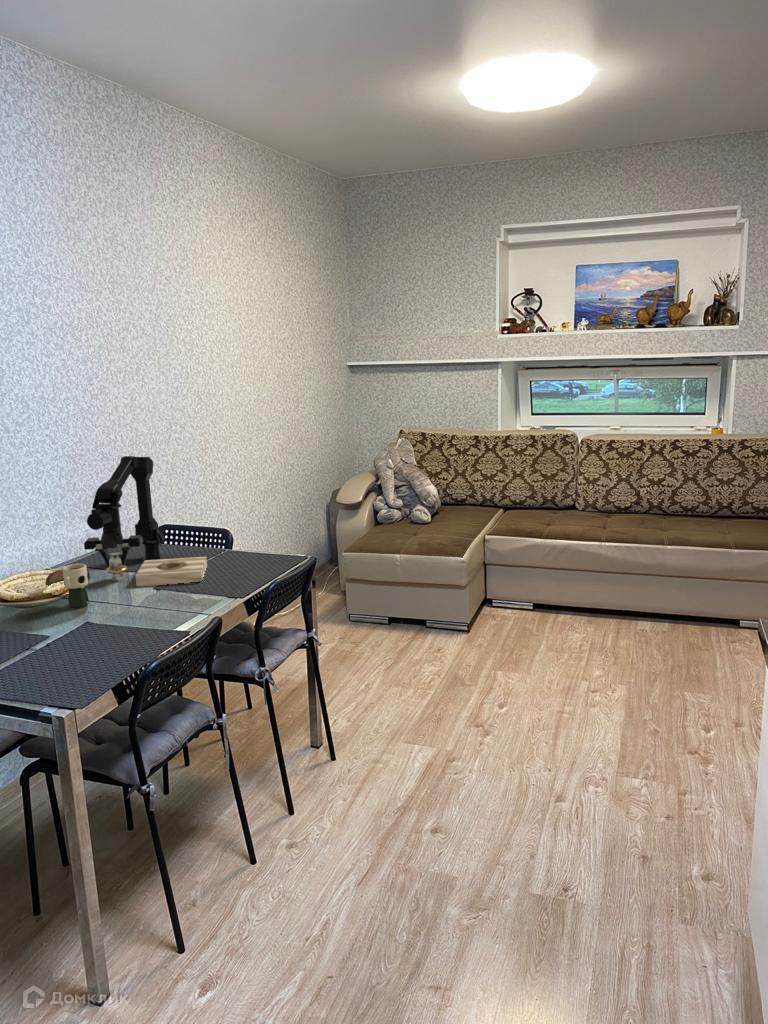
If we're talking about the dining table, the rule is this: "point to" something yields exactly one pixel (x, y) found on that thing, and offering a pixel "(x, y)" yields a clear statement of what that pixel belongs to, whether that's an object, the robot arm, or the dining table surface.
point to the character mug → (76, 584)
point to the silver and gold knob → (116, 567)
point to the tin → (59, 577)
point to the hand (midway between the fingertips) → (116, 565)
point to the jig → (171, 571)
